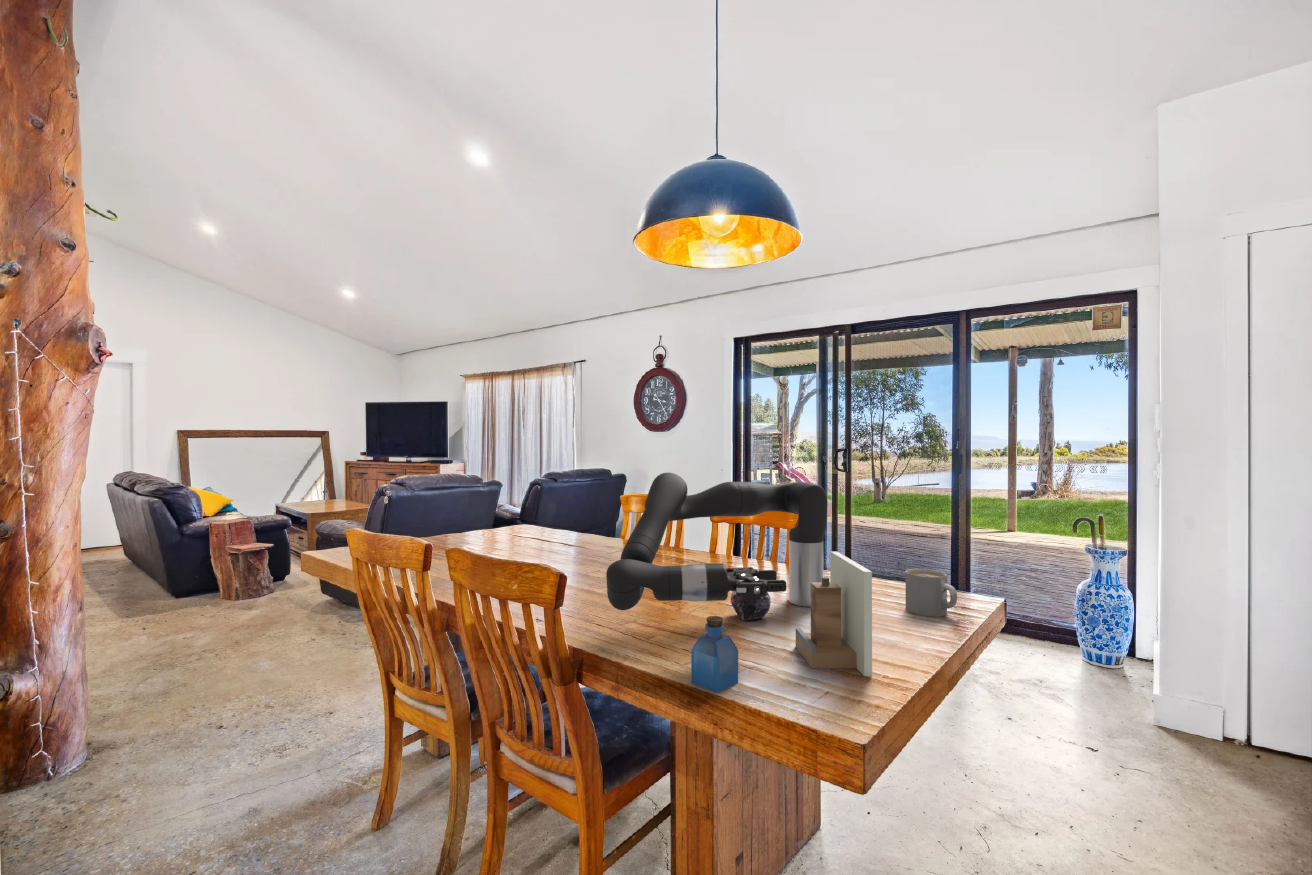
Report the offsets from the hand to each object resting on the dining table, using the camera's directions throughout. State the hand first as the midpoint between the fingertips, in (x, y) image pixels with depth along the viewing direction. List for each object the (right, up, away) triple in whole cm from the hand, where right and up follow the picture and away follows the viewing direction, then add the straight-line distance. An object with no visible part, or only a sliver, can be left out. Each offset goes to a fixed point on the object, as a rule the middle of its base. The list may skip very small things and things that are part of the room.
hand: (780, 580), depth 122 cm
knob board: (+9, -13, 0) cm, 16 cm away
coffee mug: (+46, -16, +31) cm, 58 cm away
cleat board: (+10, -16, 0) cm, 19 cm away
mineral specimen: (-2, -16, +27) cm, 32 cm away
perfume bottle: (-15, -16, -12) cm, 25 cm away
